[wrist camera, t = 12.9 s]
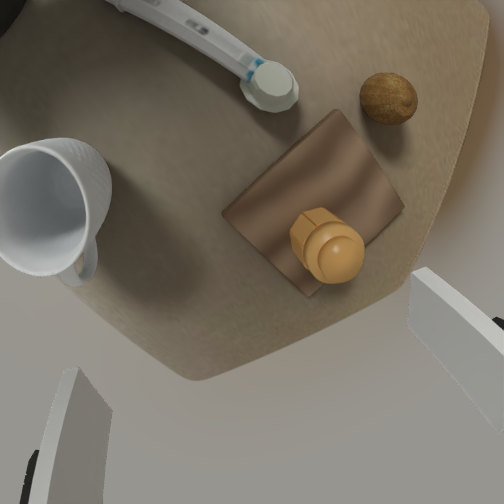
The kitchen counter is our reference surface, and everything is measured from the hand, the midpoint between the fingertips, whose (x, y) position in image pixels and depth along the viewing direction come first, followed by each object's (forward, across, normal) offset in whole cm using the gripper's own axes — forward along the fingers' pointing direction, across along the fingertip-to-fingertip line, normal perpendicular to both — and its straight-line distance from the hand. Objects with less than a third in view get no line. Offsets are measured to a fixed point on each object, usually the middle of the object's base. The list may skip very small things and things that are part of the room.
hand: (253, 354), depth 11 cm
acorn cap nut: (+25, +11, -8) cm, 29 cm away
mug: (+27, -14, +4) cm, 31 cm away
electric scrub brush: (+27, +3, +17) cm, 32 cm away
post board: (+27, +12, -6) cm, 30 cm away
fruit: (+27, +22, +7) cm, 35 cm away
